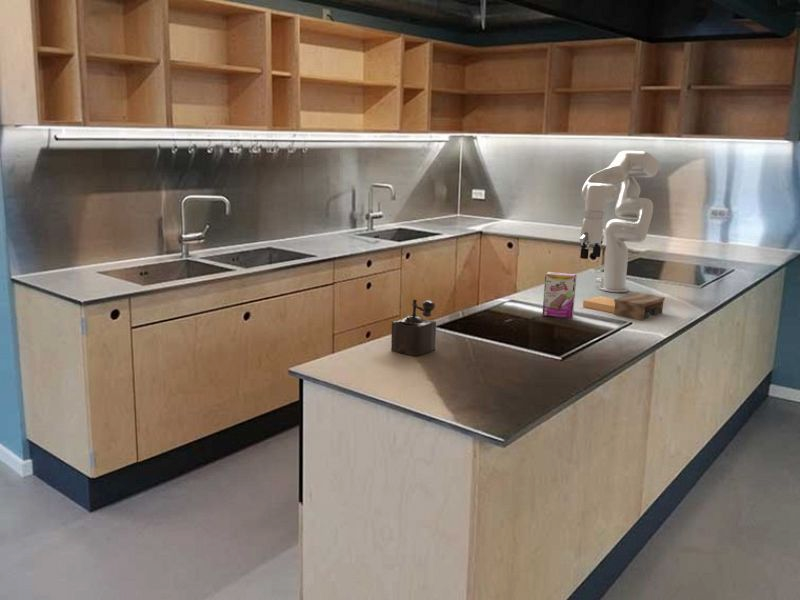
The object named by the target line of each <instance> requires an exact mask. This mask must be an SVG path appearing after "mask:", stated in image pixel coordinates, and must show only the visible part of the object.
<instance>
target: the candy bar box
mask: <svg viewBox="0 0 800 600" xmlns="http://www.w3.org/2000/svg"><path fill="white" fill-rule="evenodd" d="M576 284H577V273H576V274H574V273H564V272H553V271H547V272H546V273H545V278H544V288H543V300H542V301H543V303H542V317H551V318H558V319H559V318H560V319H569V320H570V319H571V320H572V318H573V317H574V310H575V299H576V286H577V285H576Z"/></svg>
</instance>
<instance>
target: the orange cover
mask: <svg viewBox="0 0 800 600" xmlns="http://www.w3.org/2000/svg"><path fill="white" fill-rule="evenodd" d="M614 299H615V298H611V297H605V296H601V295H599V296H598V295H597V296H595V297H590V298H587V299H584V300H583V301H582V307H583V306H584V307H583V308H587V307H588V308H587V309H591V310H592V309H593V310H597V311H602V312H608V313H613V314H614V311H615V302H614Z"/></svg>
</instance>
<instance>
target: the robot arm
mask: <svg viewBox="0 0 800 600" xmlns="http://www.w3.org/2000/svg"><path fill="white" fill-rule="evenodd" d="M658 171H659V163H658V160H657V158H656V157H655V156H653V155H652V154H651V153H649V152H647V151H645V150H621V151H619V152H618V153H617V154H616V156H614V158H613V159H612V161H611V163H610V164H609V165H608V166H607V167H606V168H603V169H601V170H599V171H597V172H595V173H592V174H591V175H589V176H588V178H587V179H586V181H585V182H584V184H583V186H582V189H581V197H582V199H583V200H585V204H584V214H583V215H584V217H583V219H582V224H581V225H582V226H581V230H580V237H579V246H580V256H579V257H580V259H583V260H588V259H589V250H590V249H589V247H590V245H593V247H592V257H593V258H594V257H595V258H600V257H601V251H602V246H603V245H602V244H603V241H604V238H605V244H606V246H605V258H604V268H603V269H604V271H603V278H600V277H597V278H596V279H595V283H597V284H600V285H598V286H599V288H598V289H599V290H600V291H603V292H607V293H627V292H629V290H630V289H629V287H628V286H626V281H627V271H628V259H629V249H628V246H627V244H626V242H630V243H637V244H638V243H643V242H644V241H645V240H646V237H647V235H648V232H649V228H650V225H651V220H652V217H653V213H654V203H653V201H652V200H651V199H650V198H646V197H640V194H641V187H640V184H639V183H638V181H637V179H635V178H653V177H654V176H656V175H657V173H658ZM619 184H620V189H618V187H617V185H619ZM615 201H616V203H615V209H614V214H615V216H616V217H617V218H612V219H608V221H607V223H605V229H604V222H603V221H604V216H605V207H606V206H605V204H606V203H613V202H615ZM603 230H605V236H604V235H603V232H604V231H603Z"/></svg>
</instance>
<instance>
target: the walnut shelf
mask: <svg viewBox="0 0 800 600" xmlns="http://www.w3.org/2000/svg"><path fill="white" fill-rule="evenodd" d="M613 299H614V302H615V311H614V313H613V314H614V315H615V316H619V317H623V318H630V319H634V320H637V321H638V320H639V321H644V320H645V319H648V318H649V313H650V312H651V315H652V316H656V315H658V314H660V315H661V314H663V308H664V301H665V299H666V297H664V296H659V295H653V294H649V293H648V294H647V293H641V292H635V293H634V292H633V293H630V294H628V295H627V294H626V295H624V296H621V297H618V298H613Z"/></svg>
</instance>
